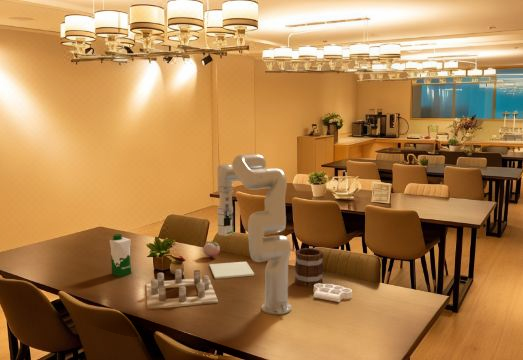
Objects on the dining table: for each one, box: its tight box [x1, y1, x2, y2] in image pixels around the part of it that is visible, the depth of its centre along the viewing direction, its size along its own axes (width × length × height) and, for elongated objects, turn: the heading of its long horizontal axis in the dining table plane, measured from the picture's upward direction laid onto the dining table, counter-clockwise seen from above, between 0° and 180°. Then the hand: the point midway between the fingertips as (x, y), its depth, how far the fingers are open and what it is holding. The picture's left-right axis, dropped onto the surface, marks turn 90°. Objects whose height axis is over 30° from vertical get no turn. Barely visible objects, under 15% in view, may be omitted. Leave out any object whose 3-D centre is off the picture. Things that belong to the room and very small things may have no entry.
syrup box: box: [216, 205, 234, 237], centre depth 249 cm, size 6×6×14 cm
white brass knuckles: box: [313, 283, 353, 303], centre depth 224 cm, size 3×18×15 cm
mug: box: [294, 247, 324, 288], centre depth 243 cm, size 20×14×15 cm
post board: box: [145, 268, 219, 310], centre depth 226 cm, size 30×30×7 cm
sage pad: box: [209, 261, 255, 280], centre depth 257 cm, size 20×20×1 cm
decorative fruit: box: [203, 240, 221, 259], centre depth 277 cm, size 9×8×10 cm
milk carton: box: [108, 233, 132, 278], centre depth 250 cm, size 9×9×20 cm
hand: (225, 223), depth 249 cm, fingers closed on syrup box, 7 cm apart
